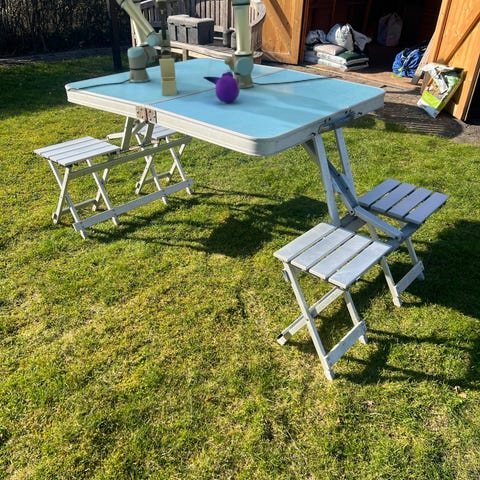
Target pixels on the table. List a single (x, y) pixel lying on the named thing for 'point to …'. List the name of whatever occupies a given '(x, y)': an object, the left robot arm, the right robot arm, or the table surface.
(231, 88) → the toy
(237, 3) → the right robot arm
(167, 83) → the chest
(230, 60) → the teapot
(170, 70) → the beige boxy piece
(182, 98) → the table surface
